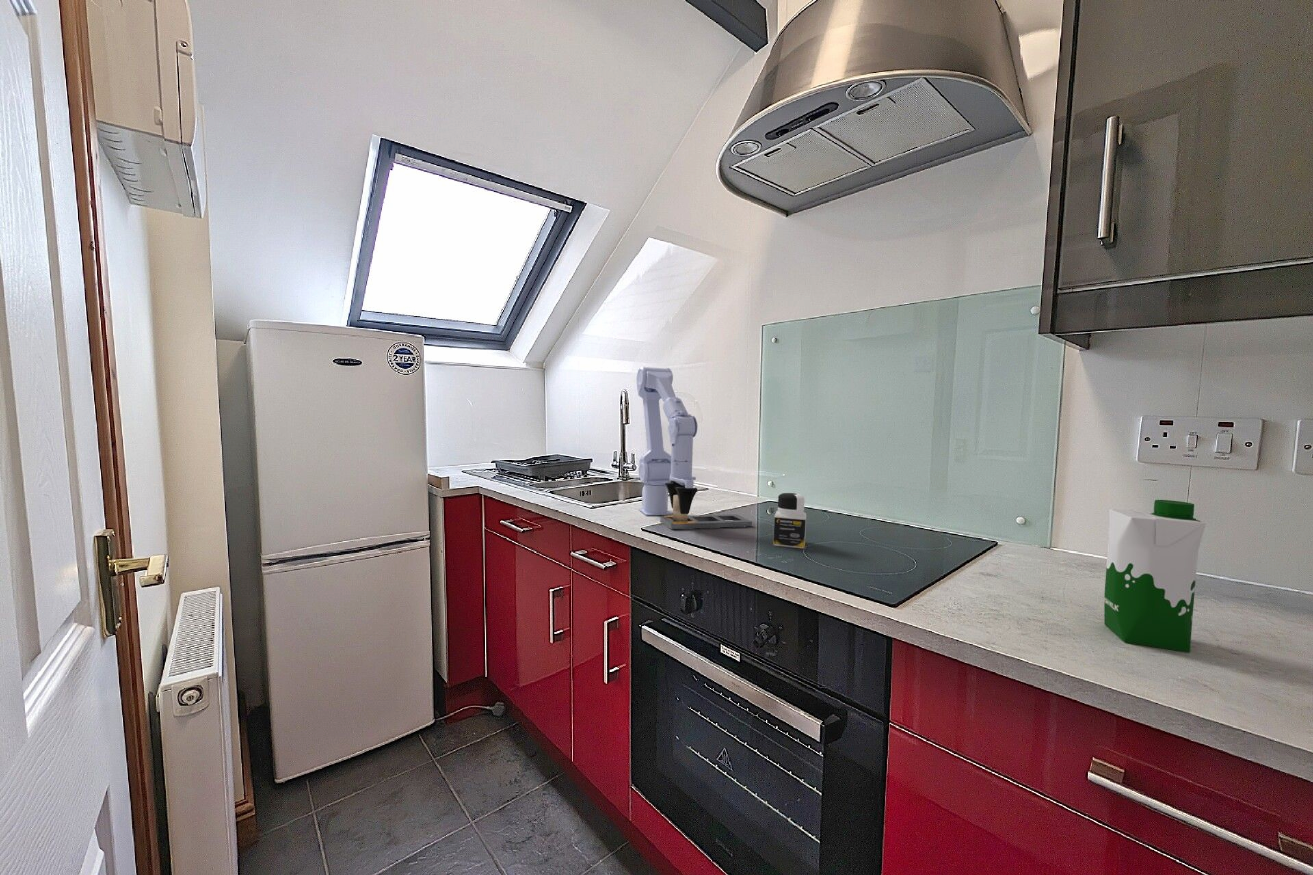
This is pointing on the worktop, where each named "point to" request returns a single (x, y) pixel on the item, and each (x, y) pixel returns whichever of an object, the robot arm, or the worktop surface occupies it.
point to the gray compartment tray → (706, 521)
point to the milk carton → (1152, 574)
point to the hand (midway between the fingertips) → (680, 510)
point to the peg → (678, 511)
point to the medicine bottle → (790, 521)
